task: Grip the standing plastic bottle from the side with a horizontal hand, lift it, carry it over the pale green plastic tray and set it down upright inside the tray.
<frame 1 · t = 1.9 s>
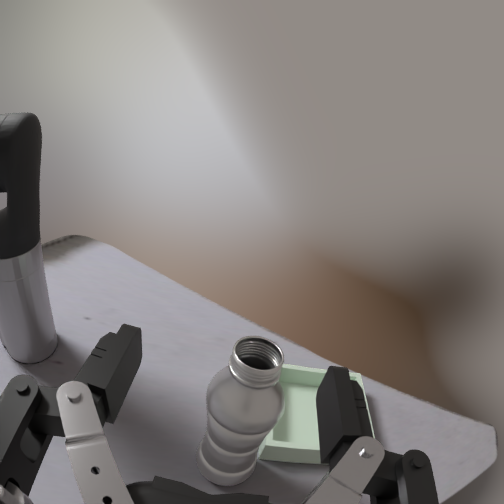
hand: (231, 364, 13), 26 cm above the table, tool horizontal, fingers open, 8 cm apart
green tray: (311, 421, 38), on the table
plastic bottle: (222, 468, 30), on the table
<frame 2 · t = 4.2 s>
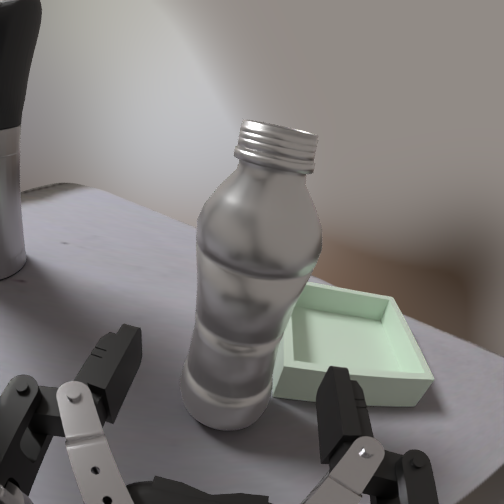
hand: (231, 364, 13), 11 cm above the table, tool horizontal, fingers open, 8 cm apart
green tray: (339, 353, 31), on the table
plastic bottle: (220, 408, 23), on the table
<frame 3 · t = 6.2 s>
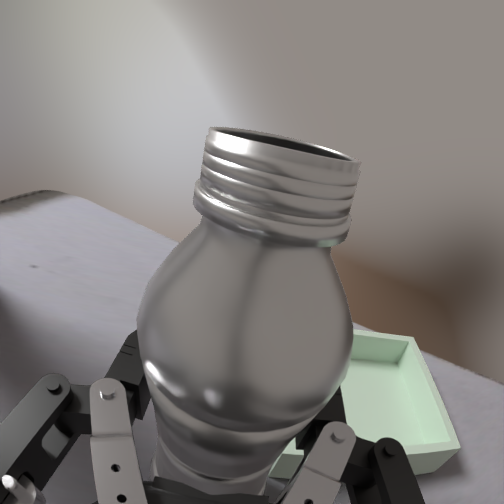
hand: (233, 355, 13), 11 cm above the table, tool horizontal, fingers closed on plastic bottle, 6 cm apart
green tray: (350, 410, 24), on the table
plastic bottle: (204, 493, 16), on the table, touching gripper
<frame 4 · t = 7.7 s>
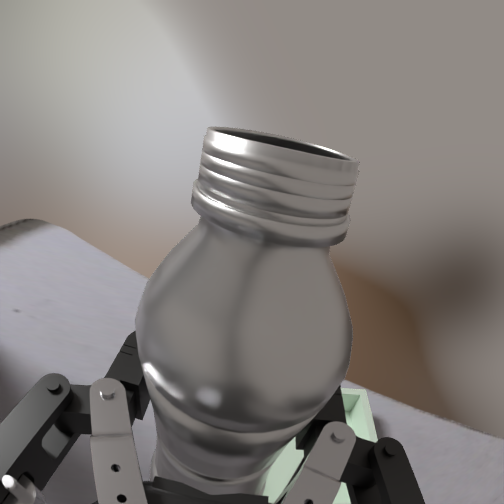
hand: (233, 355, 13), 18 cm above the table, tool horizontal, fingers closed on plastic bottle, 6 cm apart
green tray: (295, 460, 25), on the table
plastic bottle: (203, 493, 16), point 6 cm above the table, touching gripper
when the fingers open (13 cm above the table, at t = 9.6 s): plastic bottle drops 1 cm, resting on green tray.
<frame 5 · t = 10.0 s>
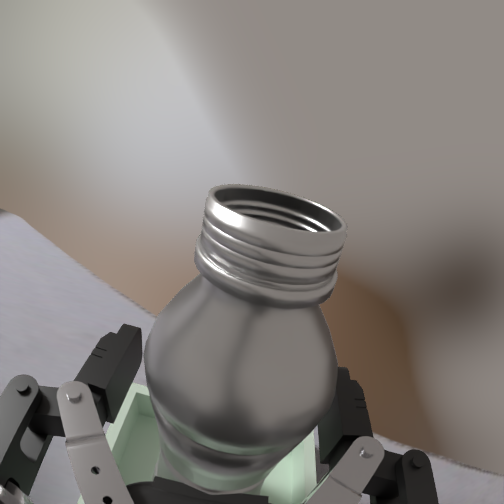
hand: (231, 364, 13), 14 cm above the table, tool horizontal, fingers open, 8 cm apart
green tray: (201, 502, 17), on the table
plastic bottle: (201, 501, 16), point 1 cm above the table, touching green tray
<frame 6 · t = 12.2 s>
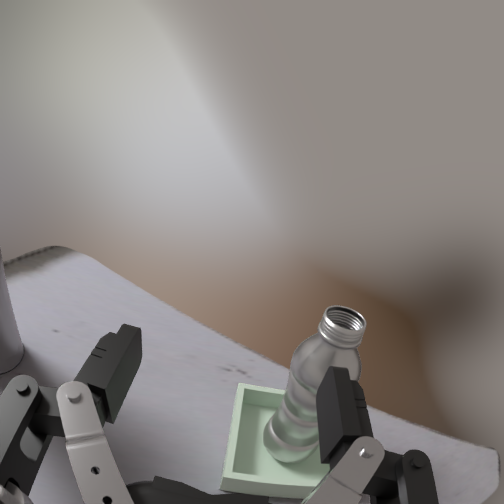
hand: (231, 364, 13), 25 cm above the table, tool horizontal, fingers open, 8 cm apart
green tray: (284, 449, 33), on the table
plastic bottle: (285, 448, 33), point 1 cm above the table, touching green tray
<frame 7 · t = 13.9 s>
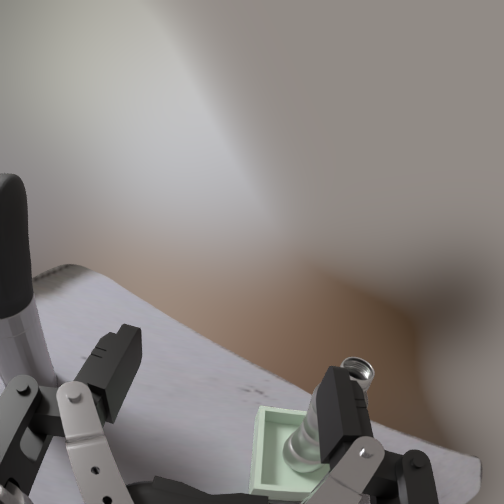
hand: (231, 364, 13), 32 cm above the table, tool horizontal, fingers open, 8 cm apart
green tray: (299, 460, 38), on the table
plastic bottle: (300, 459, 38), point 1 cm above the table, touching green tray
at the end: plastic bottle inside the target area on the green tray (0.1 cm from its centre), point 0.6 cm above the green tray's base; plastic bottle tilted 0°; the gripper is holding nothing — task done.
